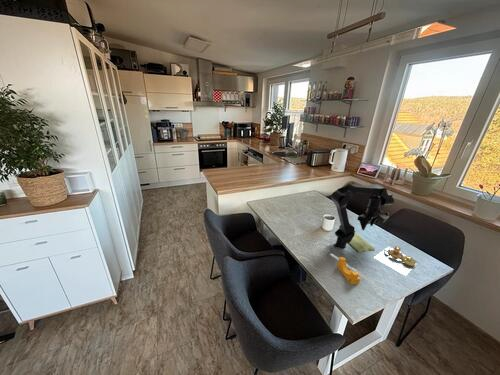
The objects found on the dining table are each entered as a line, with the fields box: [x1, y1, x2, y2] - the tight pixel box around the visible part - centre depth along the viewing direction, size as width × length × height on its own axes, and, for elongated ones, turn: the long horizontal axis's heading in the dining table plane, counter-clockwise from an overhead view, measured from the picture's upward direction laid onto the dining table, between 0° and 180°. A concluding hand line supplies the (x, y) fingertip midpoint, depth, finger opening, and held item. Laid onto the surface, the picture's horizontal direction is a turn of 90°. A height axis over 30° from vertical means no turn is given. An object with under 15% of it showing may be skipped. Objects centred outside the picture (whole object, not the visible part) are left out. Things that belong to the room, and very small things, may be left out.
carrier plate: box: [373, 246, 420, 277], centre depth 113 cm, size 18×16×5 cm
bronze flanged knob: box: [389, 246, 402, 259], centre depth 115 cm, size 6×6×6 cm
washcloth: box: [347, 233, 376, 254], centre depth 127 cm, size 13×18×3 cm
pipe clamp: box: [336, 256, 361, 285], centre depth 103 cm, size 12×4×6 cm, turn 11°
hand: (367, 227), depth 124 cm, fingers open, 9 cm apart
